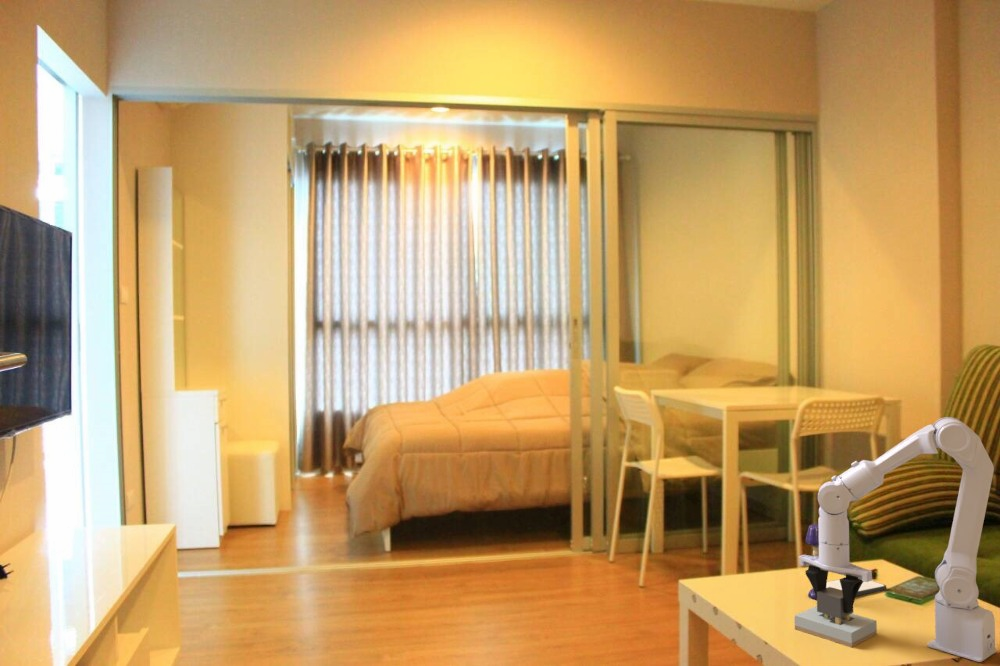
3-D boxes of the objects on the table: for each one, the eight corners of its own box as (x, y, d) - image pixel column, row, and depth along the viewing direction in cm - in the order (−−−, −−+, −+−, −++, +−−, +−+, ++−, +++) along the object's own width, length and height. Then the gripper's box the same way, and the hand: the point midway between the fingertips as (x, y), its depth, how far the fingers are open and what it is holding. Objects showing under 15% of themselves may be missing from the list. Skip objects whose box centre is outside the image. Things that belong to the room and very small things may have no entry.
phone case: (857, 581, 187) (811, 591, 180) (857, 575, 187) (811, 584, 180) (889, 592, 179) (842, 602, 172) (889, 585, 179) (842, 595, 172)
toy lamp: (830, 601, 171) (829, 528, 171) (808, 600, 172) (807, 527, 172) (825, 594, 176) (824, 523, 176) (804, 593, 177) (803, 522, 177)
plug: (853, 620, 154) (853, 593, 154) (840, 626, 151) (840, 598, 151) (829, 613, 158) (829, 586, 158) (817, 619, 154) (816, 592, 154)
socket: (876, 634, 152) (876, 620, 152) (851, 647, 146) (851, 632, 146) (820, 617, 162) (820, 604, 162) (794, 628, 156) (794, 615, 156)
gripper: (879, 545, 151) (880, 613, 151) (811, 531, 162) (812, 594, 162) (861, 552, 146) (862, 622, 146) (793, 536, 158) (793, 601, 158)
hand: (834, 608), depth 154 cm, fingers closed on plug, 5 cm apart
